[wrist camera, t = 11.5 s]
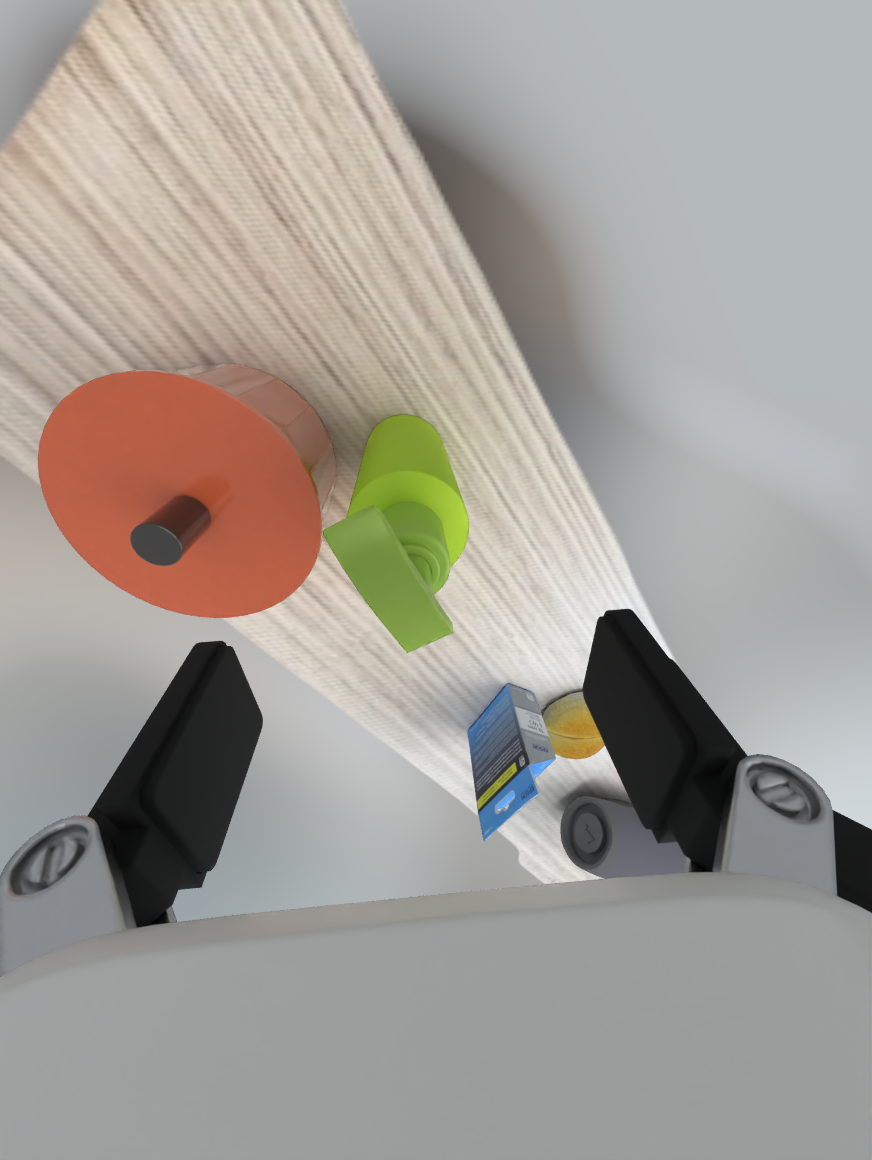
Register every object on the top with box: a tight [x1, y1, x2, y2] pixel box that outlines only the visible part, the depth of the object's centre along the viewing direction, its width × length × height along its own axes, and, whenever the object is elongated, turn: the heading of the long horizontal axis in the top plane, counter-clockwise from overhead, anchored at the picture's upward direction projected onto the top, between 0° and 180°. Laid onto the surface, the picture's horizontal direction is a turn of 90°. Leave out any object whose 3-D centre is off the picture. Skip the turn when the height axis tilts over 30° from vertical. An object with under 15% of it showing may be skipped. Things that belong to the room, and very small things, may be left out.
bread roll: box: [542, 692, 605, 759], centre depth 46 cm, size 8×9×4 cm
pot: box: [172, 364, 337, 521], centre depth 26 cm, size 13×13×10 cm
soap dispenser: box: [323, 415, 469, 653], centre depth 22 cm, size 6×7×20 cm
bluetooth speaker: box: [561, 796, 686, 879], centre depth 56 cm, size 23×9×10 cm, turn 56°
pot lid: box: [38, 370, 323, 618], centre depth 21 cm, size 14×14×5 cm
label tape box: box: [468, 684, 556, 841], centre depth 42 cm, size 9×4×12 cm, turn 152°
